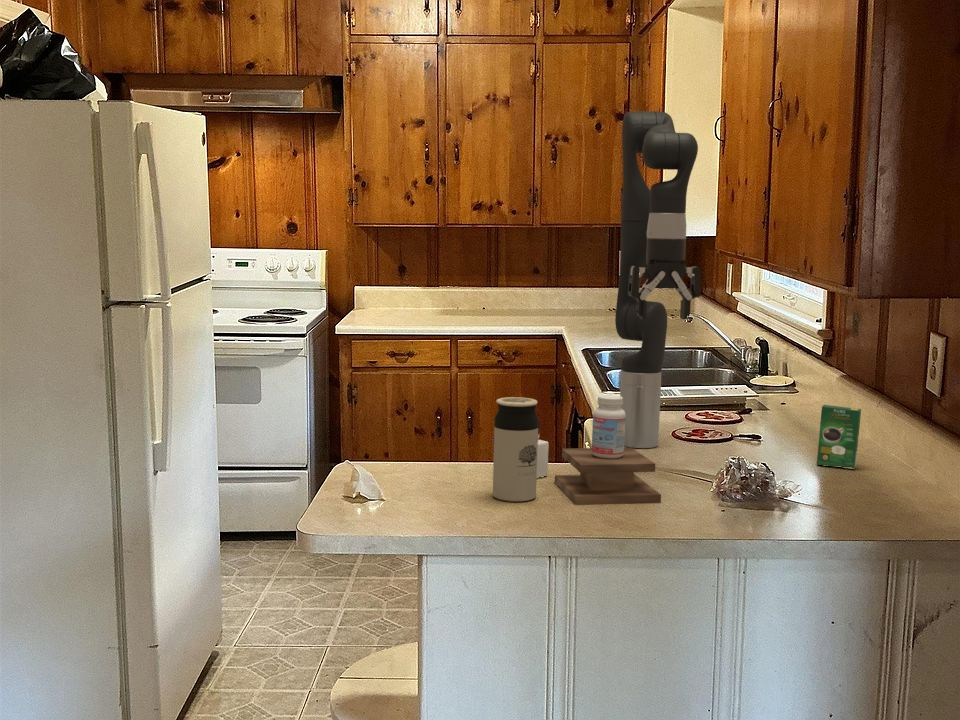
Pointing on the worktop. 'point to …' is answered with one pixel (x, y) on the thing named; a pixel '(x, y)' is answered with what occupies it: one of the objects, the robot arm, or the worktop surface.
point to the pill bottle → (608, 427)
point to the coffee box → (838, 436)
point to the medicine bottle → (542, 456)
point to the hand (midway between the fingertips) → (663, 319)
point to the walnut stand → (607, 478)
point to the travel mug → (515, 450)
